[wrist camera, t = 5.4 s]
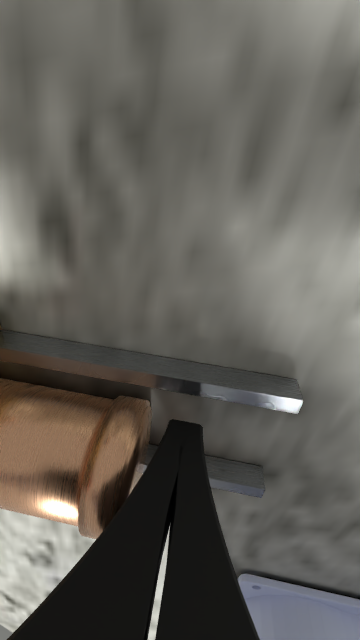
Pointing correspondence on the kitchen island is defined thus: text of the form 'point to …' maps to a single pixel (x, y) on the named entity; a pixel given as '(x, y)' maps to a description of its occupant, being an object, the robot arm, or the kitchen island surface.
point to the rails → (164, 388)
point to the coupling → (70, 453)
